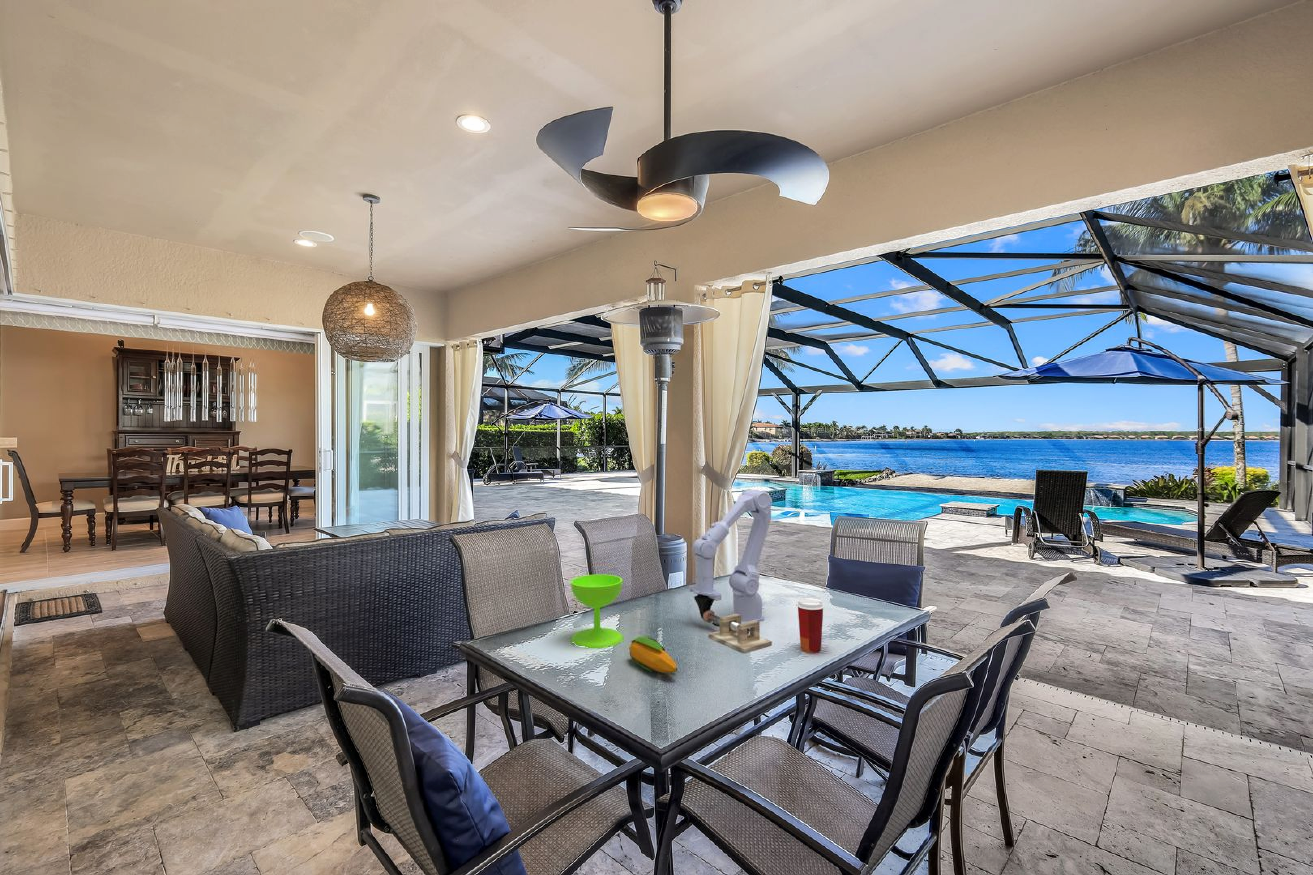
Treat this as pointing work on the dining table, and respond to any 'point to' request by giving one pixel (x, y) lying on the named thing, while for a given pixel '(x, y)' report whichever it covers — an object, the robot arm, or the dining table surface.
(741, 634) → the bearing block
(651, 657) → the corn
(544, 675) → the dining table surface
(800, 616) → the paper cup
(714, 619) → the shaft
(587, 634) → the wineglass
